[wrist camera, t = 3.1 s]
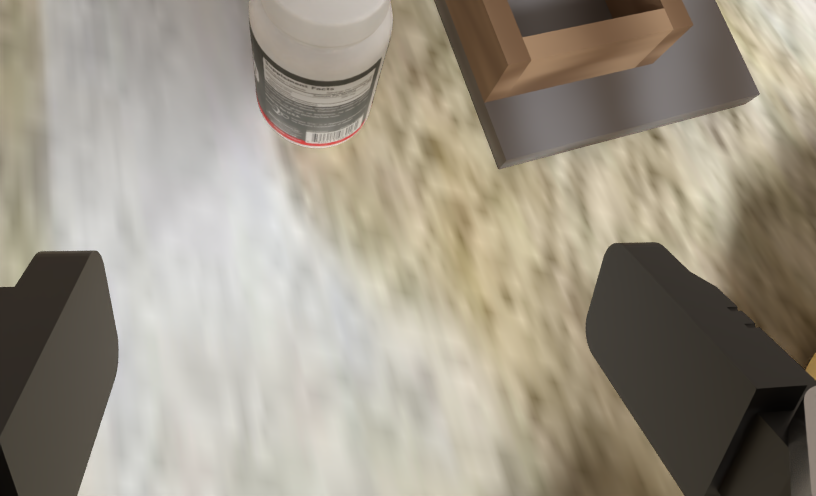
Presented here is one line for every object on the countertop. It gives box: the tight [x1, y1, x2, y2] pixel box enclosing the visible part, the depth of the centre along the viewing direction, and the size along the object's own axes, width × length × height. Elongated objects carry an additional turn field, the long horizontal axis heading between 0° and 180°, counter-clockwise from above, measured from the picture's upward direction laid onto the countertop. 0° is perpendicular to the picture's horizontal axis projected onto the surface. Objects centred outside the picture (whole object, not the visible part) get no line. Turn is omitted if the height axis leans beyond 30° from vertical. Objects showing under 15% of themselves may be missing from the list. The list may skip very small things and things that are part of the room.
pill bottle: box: [249, 0, 393, 148], centre depth 22 cm, size 5×5×8 cm
